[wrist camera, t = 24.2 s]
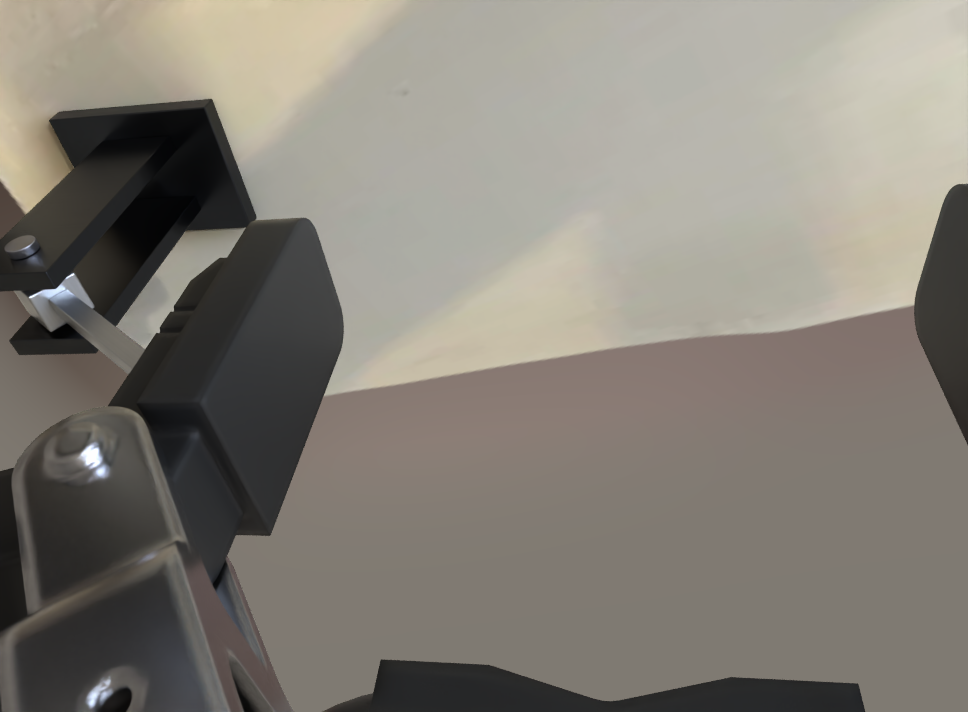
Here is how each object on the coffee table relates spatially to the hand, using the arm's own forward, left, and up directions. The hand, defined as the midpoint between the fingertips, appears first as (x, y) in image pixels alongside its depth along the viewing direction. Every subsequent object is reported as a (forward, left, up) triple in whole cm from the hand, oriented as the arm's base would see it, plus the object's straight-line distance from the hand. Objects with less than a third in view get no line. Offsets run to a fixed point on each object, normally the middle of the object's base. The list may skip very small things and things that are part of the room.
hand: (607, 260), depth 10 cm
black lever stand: (+1, -31, -32) cm, 45 cm away
